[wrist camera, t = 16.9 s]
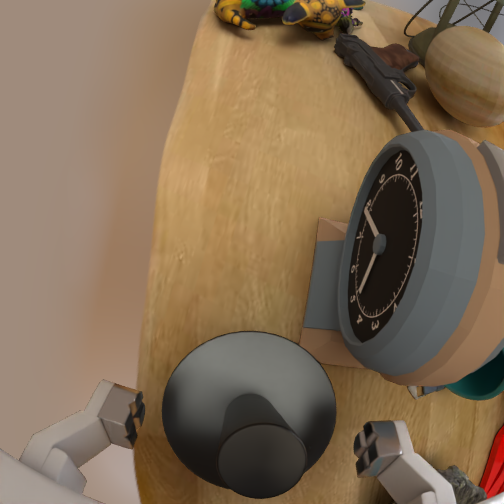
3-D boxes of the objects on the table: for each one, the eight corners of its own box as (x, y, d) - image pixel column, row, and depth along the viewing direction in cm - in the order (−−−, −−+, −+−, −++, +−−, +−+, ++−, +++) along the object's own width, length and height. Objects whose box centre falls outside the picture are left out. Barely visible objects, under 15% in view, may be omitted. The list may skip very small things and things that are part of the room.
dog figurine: (216, 28, 44) (244, 72, 37) (198, -26, 33) (223, -2, 26) (315, 5, 43) (366, 44, 36) (310, -47, 32) (369, -22, 25)
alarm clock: (320, 208, 27) (400, 42, 11) (413, 232, 27) (534, 118, 10) (293, 371, 22) (430, 390, 6) (401, 383, 22) (582, 378, 5)
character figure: (307, 1, 44) (317, 33, 39) (310, -13, 41) (321, 15, 35) (352, 9, 44) (372, 44, 39) (356, -5, 41) (377, 27, 35)
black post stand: (157, 467, 13) (101, 537, 5) (181, 319, 16) (131, 280, 8) (314, 487, 13) (370, 563, 5) (339, 343, 16) (424, 324, 8)
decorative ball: (469, 161, 31) (532, 89, 17) (391, 85, 35) (430, 3, 21) (497, 131, 35) (543, 75, 21) (435, 70, 38) (468, 8, 24)
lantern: (453, 101, 36) (532, -35, 8) (382, 37, 41) (426, -92, 13) (495, 91, 40) (556, -4, 12) (438, 38, 45) (480, -58, 17)
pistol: (495, 179, 30) (424, 186, 28) (402, 58, 40) (327, 48, 38) (512, 162, 26) (444, 163, 24) (409, 40, 36) (333, 27, 34)
